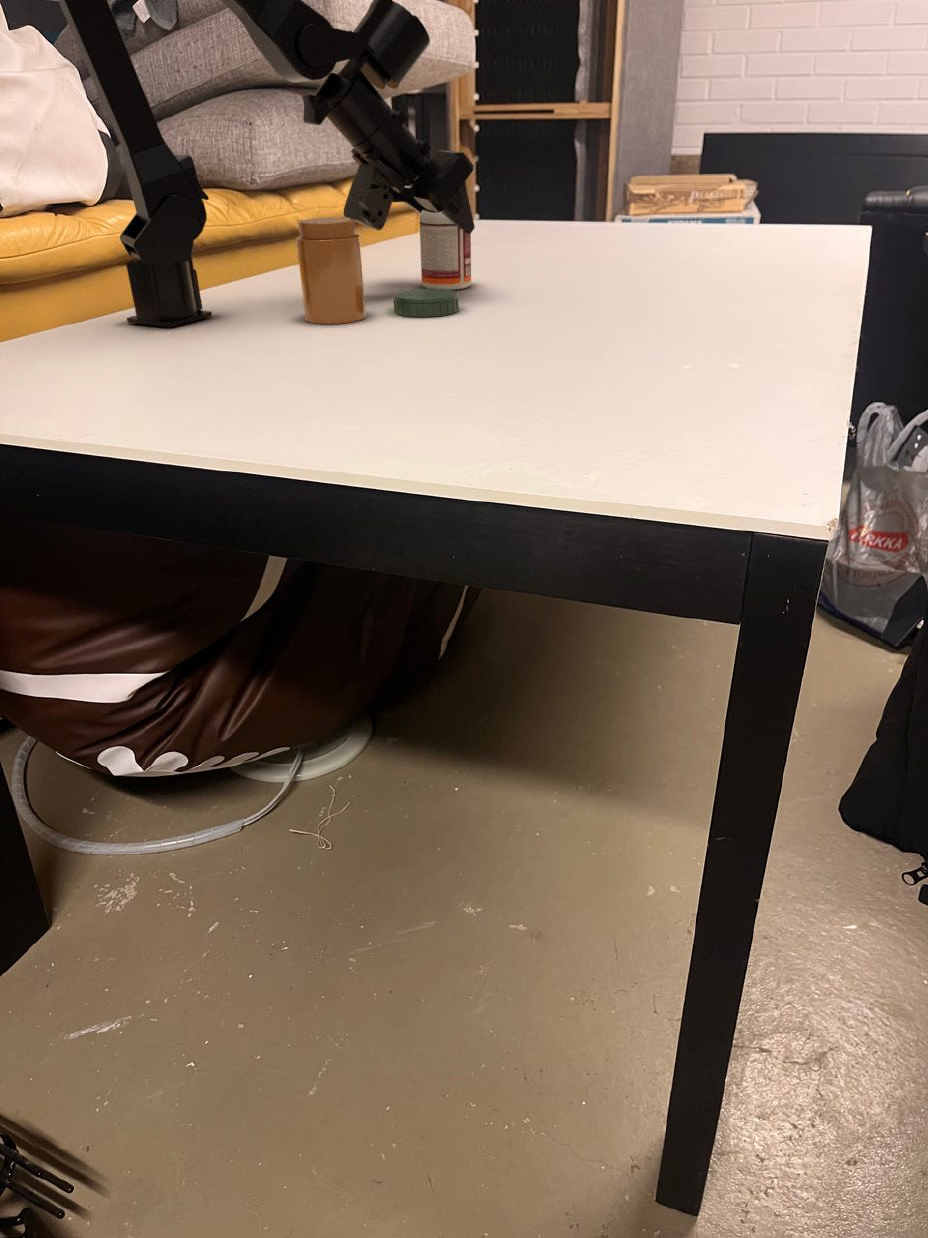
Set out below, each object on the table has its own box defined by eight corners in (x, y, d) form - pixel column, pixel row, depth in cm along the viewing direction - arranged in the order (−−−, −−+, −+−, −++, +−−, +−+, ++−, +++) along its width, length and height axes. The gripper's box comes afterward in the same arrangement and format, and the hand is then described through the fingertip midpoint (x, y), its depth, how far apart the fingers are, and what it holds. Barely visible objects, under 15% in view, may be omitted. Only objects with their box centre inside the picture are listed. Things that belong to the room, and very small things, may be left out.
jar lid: (422, 302, 99) (422, 286, 98) (471, 308, 95) (471, 291, 95) (381, 313, 95) (380, 295, 94) (430, 319, 91) (429, 301, 90)
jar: (341, 326, 89) (332, 224, 84) (292, 321, 92) (281, 222, 87) (377, 314, 94) (370, 217, 89) (330, 310, 97) (321, 216, 92)
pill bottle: (452, 280, 112) (449, 182, 107) (481, 286, 108) (480, 184, 102) (412, 286, 109) (407, 185, 103) (440, 292, 105) (437, 187, 99)
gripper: (293, 177, 102) (382, 268, 113) (361, 193, 89) (455, 295, 99) (350, 98, 102) (434, 198, 112) (427, 103, 88) (515, 215, 99)
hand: (456, 227), depth 106 cm, fingers open, 7 cm apart
